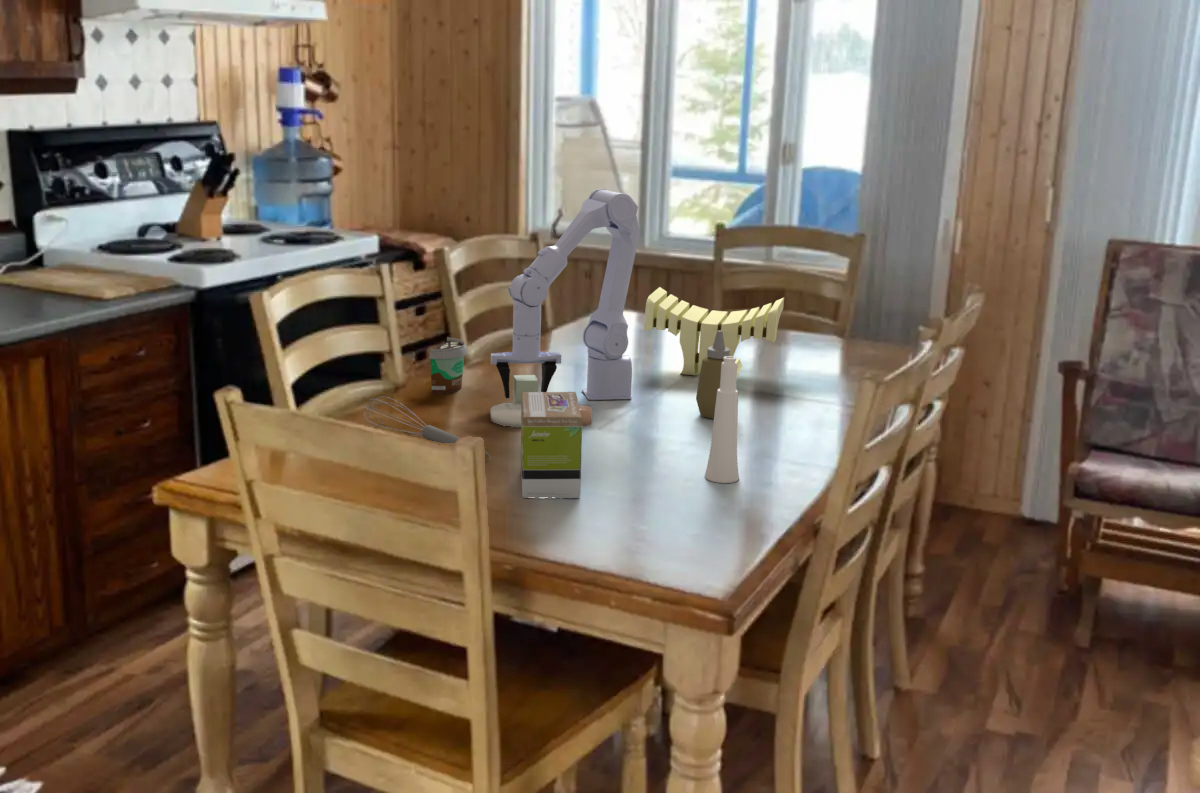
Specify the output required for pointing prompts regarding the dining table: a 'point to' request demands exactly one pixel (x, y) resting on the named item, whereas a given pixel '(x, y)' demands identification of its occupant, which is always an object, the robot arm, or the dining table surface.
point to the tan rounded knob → (586, 415)
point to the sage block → (524, 385)
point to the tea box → (551, 445)
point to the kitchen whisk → (427, 432)
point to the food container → (447, 366)
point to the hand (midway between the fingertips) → (525, 396)
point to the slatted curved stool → (708, 326)
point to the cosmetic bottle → (725, 428)
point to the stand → (507, 414)
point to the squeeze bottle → (711, 376)
